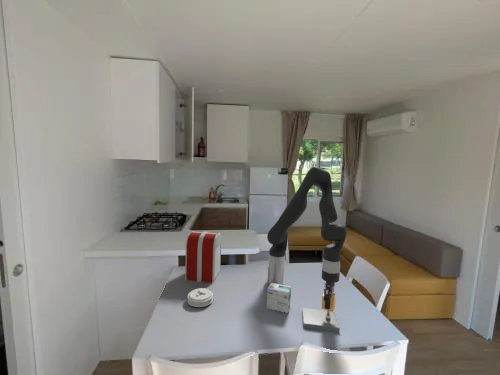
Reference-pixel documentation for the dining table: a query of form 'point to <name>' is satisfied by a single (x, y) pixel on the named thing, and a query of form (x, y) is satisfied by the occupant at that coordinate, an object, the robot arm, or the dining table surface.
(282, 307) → the light bulb box
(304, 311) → the plate
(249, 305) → the dining table surface
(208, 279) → the red striped box
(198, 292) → the lid
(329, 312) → the pigtail
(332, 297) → the orange block
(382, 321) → the dining table surface
